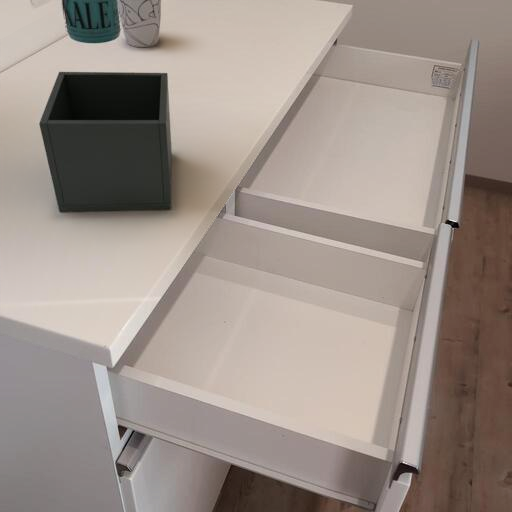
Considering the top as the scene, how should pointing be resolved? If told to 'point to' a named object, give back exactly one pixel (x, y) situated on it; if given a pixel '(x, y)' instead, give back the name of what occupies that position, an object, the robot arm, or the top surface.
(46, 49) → the top surface
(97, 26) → the beverage bottle
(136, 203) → the bin
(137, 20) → the mug
